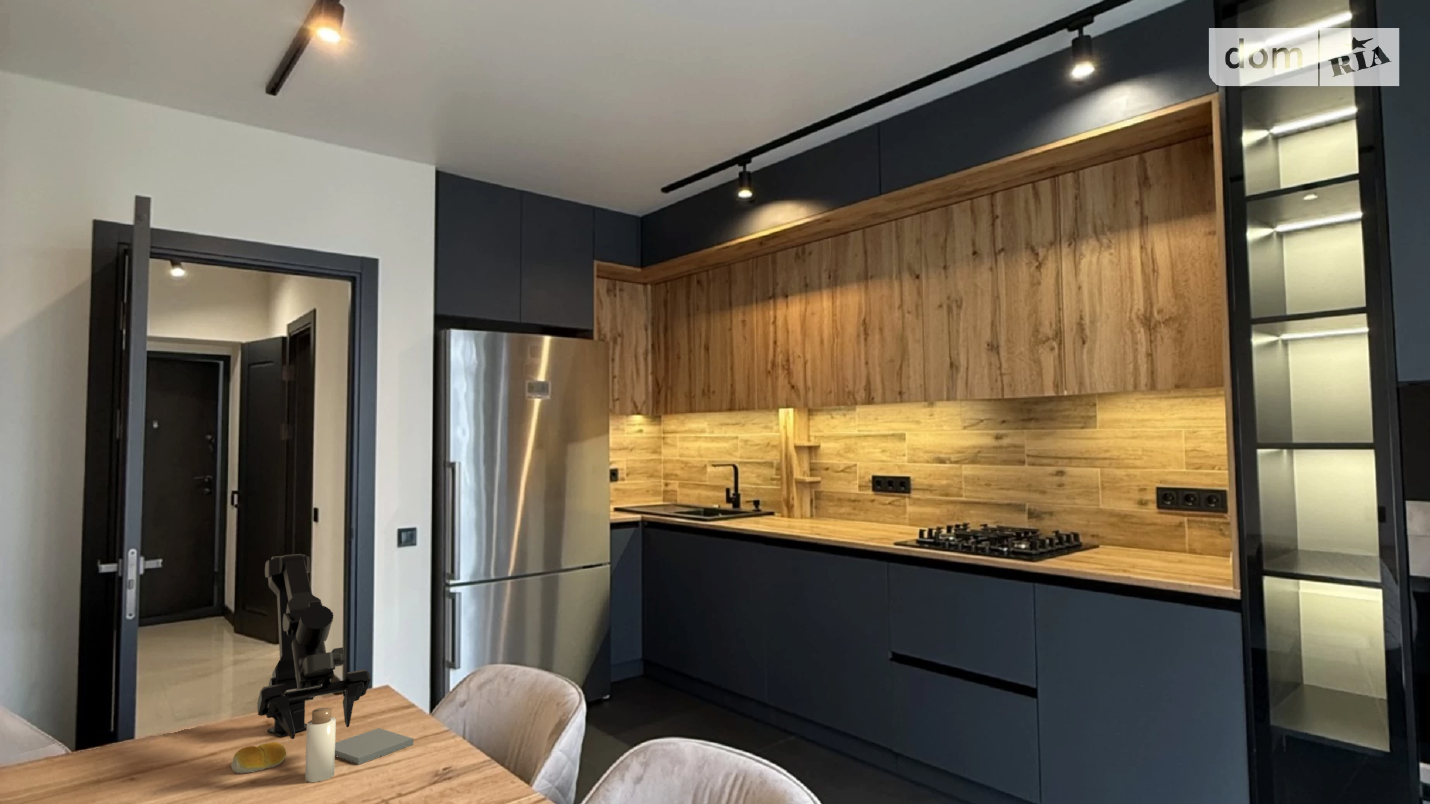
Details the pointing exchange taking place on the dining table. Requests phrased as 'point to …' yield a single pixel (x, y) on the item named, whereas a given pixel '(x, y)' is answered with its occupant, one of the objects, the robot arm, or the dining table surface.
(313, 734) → the lotion bottle
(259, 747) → the bread roll
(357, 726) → the dining table surface
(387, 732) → the plate
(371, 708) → the dining table surface
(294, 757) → the dining table surface
